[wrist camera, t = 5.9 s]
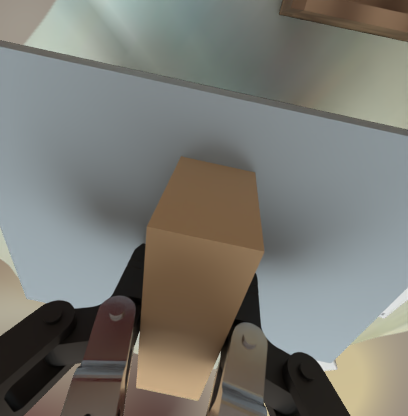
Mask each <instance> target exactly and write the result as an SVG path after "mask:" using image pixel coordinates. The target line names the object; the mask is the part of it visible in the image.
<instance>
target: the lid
mask: <svg viewBox="0 0 408 416" xmlns="http://www.w3.org/2000/svg"><path fill="white" fill-rule="evenodd" d="M0 227H1V230H2V233H3V236H4V238H5V241H6V244H7V246H8V249H9V252H10V255H11V257H12V260H13V263H14V266H15V268H16V271H17V274H18V277H19V279H20V282H21V285H22V287H23V290H24V293H25V296H26V298H27V299H30V300H35V301H40V302H45V303H49V302H51V301H56V300H63V301H67V302H69V303H71V304H72V306H73V307H74V309H75V308H85V307H93V306H97V305H100V304H102V303H103V302H104V301H105V300H107V299H108V298H110V297H111V296H112V294H113V292H114V290H115V288H116V286H117V284H118V282H119V280H120V278H121V276H122V274H123V272H124V270H125V268H126V267H127V264H128V262H129V260H130V258H131V256H132V254H133V252H134V250H135V249H136V248H137V247H138V246H140V245H141V244H142V243H144V244H146V246H145V262H144V277H143V292H142V308H141V323H140V338H139V354H138V369H137V384H136V388H140V389H145V390H149V391H154V392H159V393H164V394H168V395H173V396H178V397H182V398H187V399H192V400H197V401H198V400H199V398H200V396H201V394H202V391H203V389H204V387H205V385H206V382H207V380H208V378H209V376H210V373H211V371H212V369H213V367H214V364H215V362H216V360H217V358H218V355H219V353H220V351H221V349H222V346H223V344H224V342H225V340H226V337H227V335H228V333H229V331H230V328H231V326H232V324H233V322H234V319H235V317H236V315H237V313H238V310H239V308H240V306H241V304H242V301H243V299H244V297H245V295H246V292H247V290H248V288H249V286H250V283H251V281H252V279H253V277H254V274H255V273H256V275H257V278H258V292H259V294H258V295H259V305H260V319H261V328H262V331H263V333H264V334H265V336H266V338H267V339H268V340H269V341H270V342H271V343H272V344H273V345H274V346H276V347H278V348H279V349H281V350H283V351H285V352H286V353H288V354H290V355H292V354H293V353H295V352H303V353H306V354H308V355H310V356H312V357H313V358H314V359H315V360H317V361H322V362H326V363H332V362H333V361H334V360H335V359H336V358H337V357H338V356H339V355H340V354H341V353H342V352H343V351H344V350H345V349H346V348H347V347H348V346H349V345H350V344H351V343H352V342H353V341H354V340H355V339H356V338H357V337H358V336H359V335H360V334H361V333H362V332H363V331H364V330H365V329H366V328H367V327H368V326H369V325H370V324H371V323H372V322H373V321H374V320H375V319H376V318H377V317H378V316H379V315H380V314H381V313H382V312H383V311H384V310H385V309H386V308H387V307H389V306H390V305H391V304H392V303H393V302H394V301H395V300H396V299H397V298H398V297H399V296H400V295H401V294H402V293H403V292H404V291H405V290H406V289H407V288H408V130H407V129H402V128H397V127H393V126H388V125H384V124H379V123H375V122H370V121H366V120H361V119H357V118H352V117H347V116H343V115H338V114H334V113H329V112H325V111H320V110H316V109H311V108H307V107H302V106H297V105H293V104H288V103H284V102H279V101H275V100H270V99H266V98H261V97H256V96H252V95H247V94H243V93H238V92H234V91H229V90H225V89H220V88H216V87H211V86H206V85H202V84H197V83H193V82H188V81H184V80H179V79H175V78H170V77H166V76H161V75H156V74H152V73H147V72H143V71H138V70H134V69H129V68H125V67H120V66H115V65H111V64H106V63H102V62H97V61H93V60H88V59H84V58H79V57H75V56H70V55H65V54H61V53H56V52H52V51H47V50H43V49H38V48H34V47H29V46H25V45H20V44H15V43H11V42H6V41H2V40H0Z"/></svg>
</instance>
